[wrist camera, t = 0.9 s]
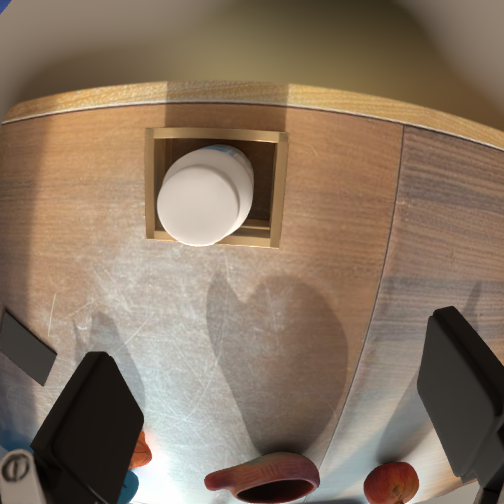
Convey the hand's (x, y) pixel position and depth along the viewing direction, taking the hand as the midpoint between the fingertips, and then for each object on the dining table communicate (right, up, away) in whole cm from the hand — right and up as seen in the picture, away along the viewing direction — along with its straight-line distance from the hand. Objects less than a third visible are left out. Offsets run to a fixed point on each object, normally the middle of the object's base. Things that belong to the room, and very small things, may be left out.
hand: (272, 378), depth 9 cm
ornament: (-25, -39, +40) cm, 61 cm away
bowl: (+2, -29, +35) cm, 46 cm away
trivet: (-34, -11, +29) cm, 46 cm away
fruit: (+24, -35, +37) cm, 56 cm away
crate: (-3, +10, +20) cm, 22 cm away
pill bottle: (-3, +10, +20) cm, 22 cm away
